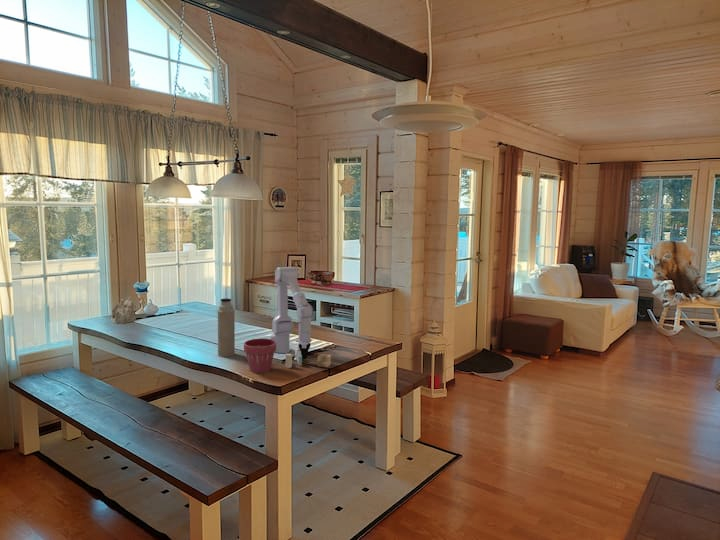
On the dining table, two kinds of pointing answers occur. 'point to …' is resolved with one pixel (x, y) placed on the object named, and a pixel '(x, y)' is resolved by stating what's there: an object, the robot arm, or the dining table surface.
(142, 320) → the dining table surface
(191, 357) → the dining table surface
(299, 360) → the gate
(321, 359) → the block
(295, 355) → the gate post
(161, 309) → the dining table surface
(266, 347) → the plant pot
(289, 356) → the latch stile
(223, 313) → the thermos bottle
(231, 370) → the dining table surface
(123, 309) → the grey rough lump
